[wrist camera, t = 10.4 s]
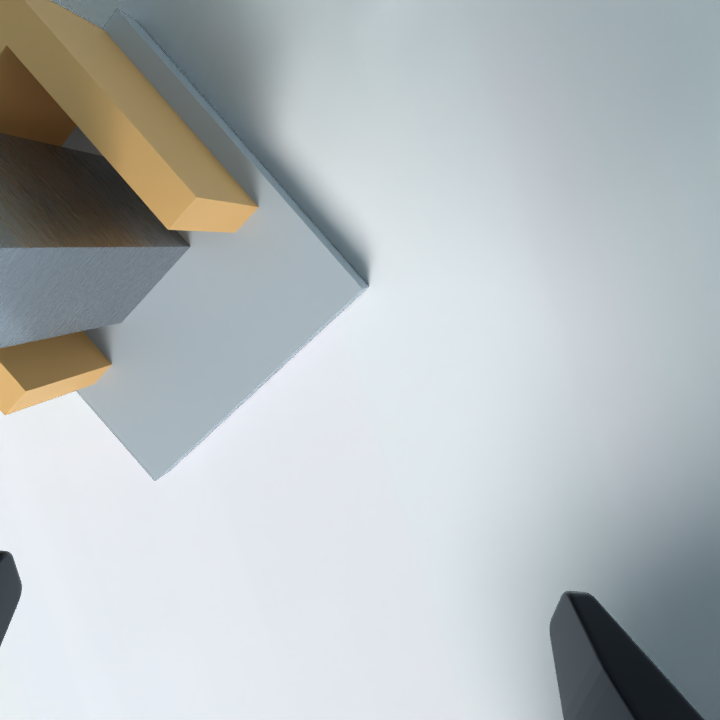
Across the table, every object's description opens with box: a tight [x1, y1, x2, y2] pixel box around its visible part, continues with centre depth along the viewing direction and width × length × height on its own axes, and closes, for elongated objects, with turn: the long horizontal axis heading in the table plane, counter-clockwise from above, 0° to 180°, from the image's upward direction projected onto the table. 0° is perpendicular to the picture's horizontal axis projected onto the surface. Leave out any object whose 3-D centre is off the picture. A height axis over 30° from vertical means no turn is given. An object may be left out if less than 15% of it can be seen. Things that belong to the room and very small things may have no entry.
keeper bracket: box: [0, 0, 369, 481], centre depth 17 cm, size 12×11×7 cm
